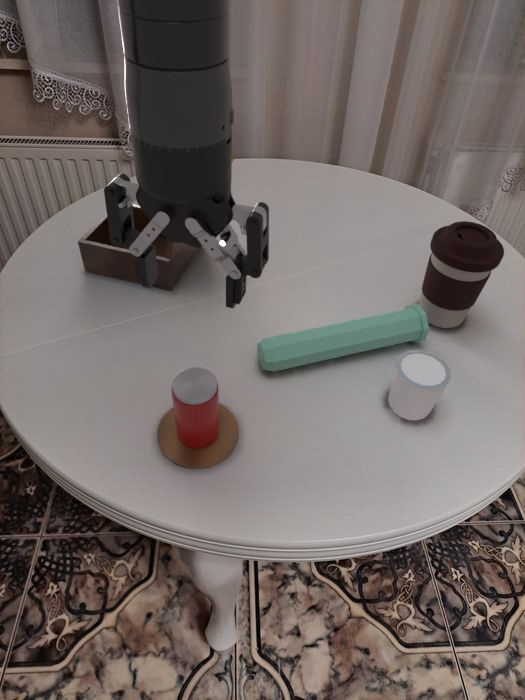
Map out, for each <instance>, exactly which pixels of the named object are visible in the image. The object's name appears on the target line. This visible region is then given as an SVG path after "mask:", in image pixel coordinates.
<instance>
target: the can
mask: <svg viewBox="0 0 525 700" xmlns="http://www.w3.org/2000/svg"><path fill="white" fill-rule="evenodd" d="M217 379H218V378H217V377H216V376H215V374H214V373H213V372H211V371H210V370H208V369H206V368H204V367H199V366H198V367H197V366H196V367H189V368H185V369H183V370H181V371H179V372H178V373H177V374H176V375H175V376H174V377H173V380H172V382H171V397H172V405H173V407H174V415H175V423H176V431H177V437H178V439H179V441H180V442H181V443H182V444H183V445H185V446H186V447H189V448H193V449H201V448H205V447H208V446H210V445H211V444H212V443H214V442H215V440H216V439H217V437H218V435H219V404H220V401H219V396H220V395H219V383H218V380H217ZM173 407H172V408H173Z"/></svg>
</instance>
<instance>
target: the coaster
mask: <svg viewBox="0 0 525 700" xmlns="http://www.w3.org/2000/svg"><path fill="white" fill-rule="evenodd" d="M239 432H240V429H239V423H238V421H237V418H236V416H235V415H234V413H233V412H232V411H231V410H230V409H229V408H228V407H226V406H225V405H223V404H221V403H219V435H218V437H217V439H216V440H215V442H214V443H212V444H211V445H210V446H208V447H205V448H201V449H193V448H189V447H186V446H185V445H183V444H182V443H181V442H180V441H179V439H178V437H177V431H176V423H175V415H174V407H172V408H170V409H169V410H168V411H167V412H166V413H164V415H163V417H162V418H161V420H160V422H159V424H158V426H157V433H156V435H157V436H156V438H157V444H158V446H159V449H160V451H161V453H162V454H163V455H164V457H165V458H167V460H169V461H170V462H171V463H173V464H175V465H177V466H180V467H183V468H187V469H197V470H198V469H206V468H210V467H213V466H216V465H218V464H220V463H222V462H223V461H225V460H226V459H227V458H229V456H230V455H231V454H232V452H233V451H234V450H235V449H236V446H237V444H238V442H239V436H240V434H239Z"/></svg>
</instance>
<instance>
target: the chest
mask: <svg viewBox="0 0 525 700" xmlns="http://www.w3.org/2000/svg"><path fill="white" fill-rule="evenodd" d="M132 205H133V217H134V229H136V230H137V231H139V232H142V231H143V230H144V228H145V227H146V226H147V225H148V224H149V222H150V221H151V220H150V219H149V218H148V216H147V215H146V214H145V213H144V211H143V210H142V209H141V207H140V206H139V204H135V203H133V204H132ZM77 243H78V244H77V245H78V248H79V253H80V256H81V261H82V265H83V269H84V272H87V273H92V274H96V275H101V276H104V277H109V278H113V279H118V280H122V281H126V282H131V283H134V284H135V283H136V284H139V285H142V283H141V281H140V280H138V278H137V276H136V270H135V264H134V258H133V255H132V254H131V253H130V251H129V249H128V248H127V247H125V246H123V245H121V246H115V245H113V244H112V242H111V241H110V235H109V227H108V219H107V212H105V214H103V216H102V217H101V218H99V220H98V221H97V222H96V223H94V225H93V226H92V227H90V229H88V231H87V232H86V233H85V234H84V235H83V236H82V237H81V238H80V239H79V240H77ZM151 245H154V246H155V250H156V259H157V268H158V278H157V280H156V281H155V283H154V284H153V285H152V287H153V288H156V289H161V290H164V291H165V290H166V291H170V292H172V291H173V290H174V288H175V287H176V286H177V284H178V282H179V281H180V279H181V278H182V276H183V275H184V273H185V272H186V271H187V269H188V268H189V266H190V265H191V263H192V262H193V260H194V259H195V257H196V256H197V254H198V253H199V251H200V250H201V249H200V248H196V247H192V246H190V245H187V244H185V243H183V244H182V245H181V247H180V248H179V249H178V251H177V252H176V254H175V255H174V256H173V258H172V259H171V260H169V259H167V258H166V256H167V245H168V241H167V238H166V237H164V236H163V235H162V234H161V233H160V234H159V235H158V236H157V237H156V238H155V239H154V241H153V242H152V243H151ZM152 287H151V288H152Z"/></svg>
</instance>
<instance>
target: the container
mask: <svg viewBox="0 0 525 700" xmlns="http://www.w3.org/2000/svg"><path fill="white" fill-rule="evenodd" d="M429 331H430V327H429V323H428V320H427V314H426V313H425V312H424V310H423V309H422V308H421V307H420V305H419V303H417V304H410V305H406V306H405V307H404V309H400V310H395V311H390V312H386V313H381V314H377V315H371V316H366V317H361V318H357V319H352V320H347V321H342V322H338V323H337V322H336V323H331V324H328V325H323V326H318V327H312V328H307V329H304V330H299V331H294V332H289V333H284V334H279V335H274V336H270V337H265V338H263V339H261V340H259V341H258V342H257V345H256V355H257V359H258V362H259V364H260V367H261V369H262V370H263V371H268V372H278V371H282V370H287V369H292V368H296V367H300V366H304V365H310V364H313V363H318V362H322V361H326V360H331V359H335V358H340V357H344V356H349V355H353V354H354V355H355V354H359V353H362V352H363V353H364V352H367V351H372V350H376V349H381V348H385V347H390V346H393V345H398V344H402V343H407V342H412V343H422V342H425V341H426V340H427V337H428V335H429Z"/></svg>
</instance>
